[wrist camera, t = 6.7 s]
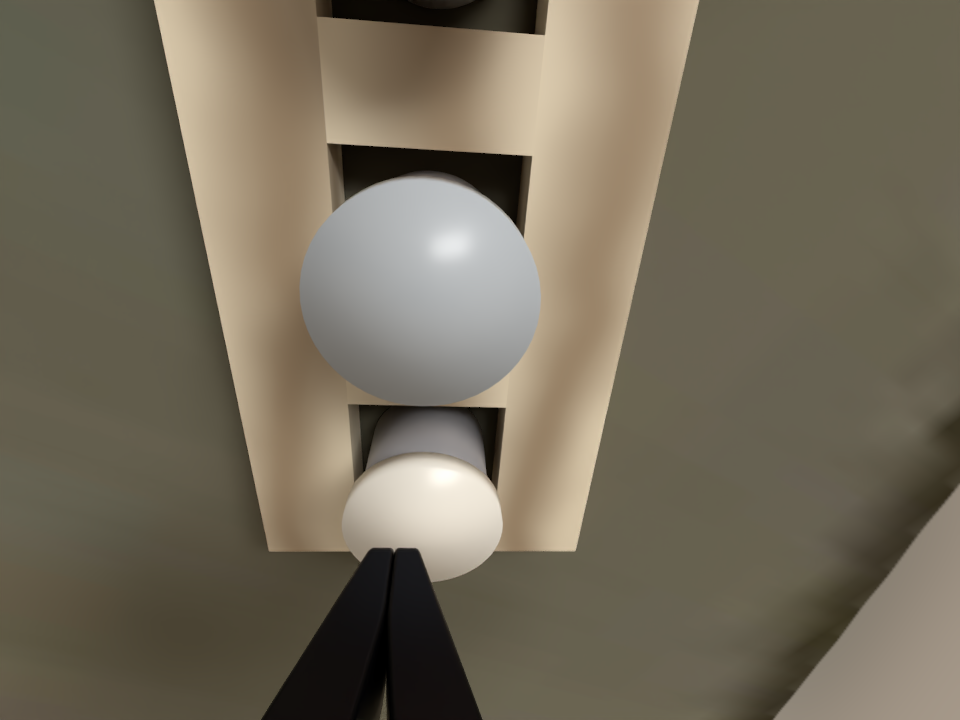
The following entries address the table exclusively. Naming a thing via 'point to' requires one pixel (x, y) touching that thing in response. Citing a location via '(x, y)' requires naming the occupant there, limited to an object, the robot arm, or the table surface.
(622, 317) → the button board
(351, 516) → the button ivory
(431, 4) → the button terracotta
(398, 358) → the button grey
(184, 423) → the table surface
